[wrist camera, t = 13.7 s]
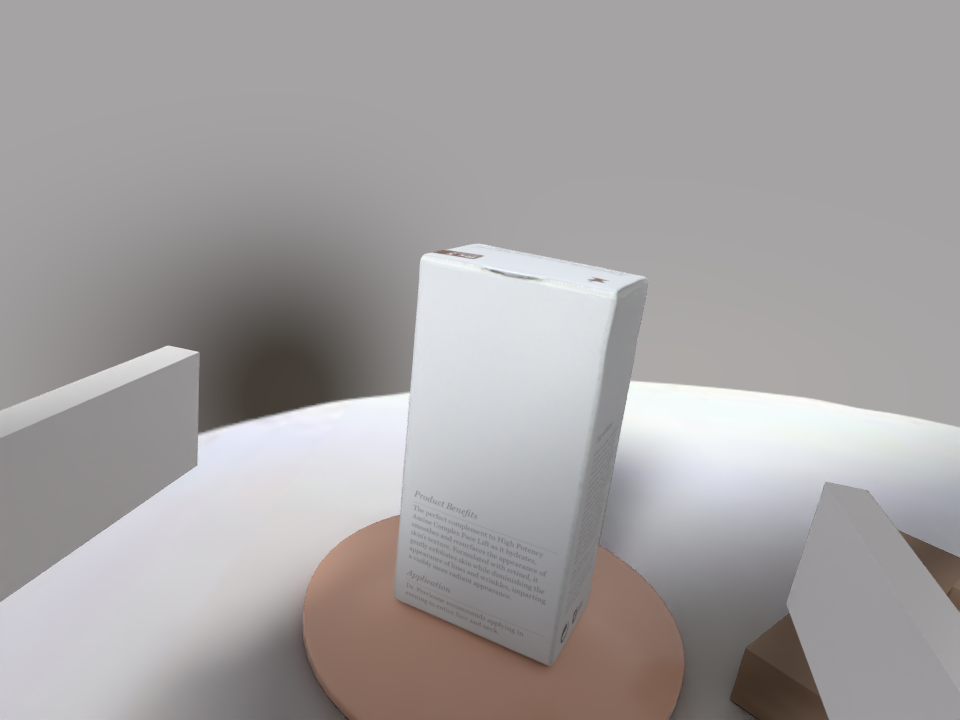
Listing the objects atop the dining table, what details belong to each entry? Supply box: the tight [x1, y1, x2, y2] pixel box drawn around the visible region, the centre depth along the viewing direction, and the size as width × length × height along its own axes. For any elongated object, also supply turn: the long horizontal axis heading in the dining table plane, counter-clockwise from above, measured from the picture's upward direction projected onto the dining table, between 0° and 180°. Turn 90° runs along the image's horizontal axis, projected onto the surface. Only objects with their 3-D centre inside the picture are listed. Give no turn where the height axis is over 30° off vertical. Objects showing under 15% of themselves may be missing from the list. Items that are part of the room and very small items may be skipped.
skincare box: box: [394, 244, 648, 666], centre depth 22 cm, size 6×4×12 cm
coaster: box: [303, 515, 685, 720], centre depth 24 cm, size 13×13×1 cm
